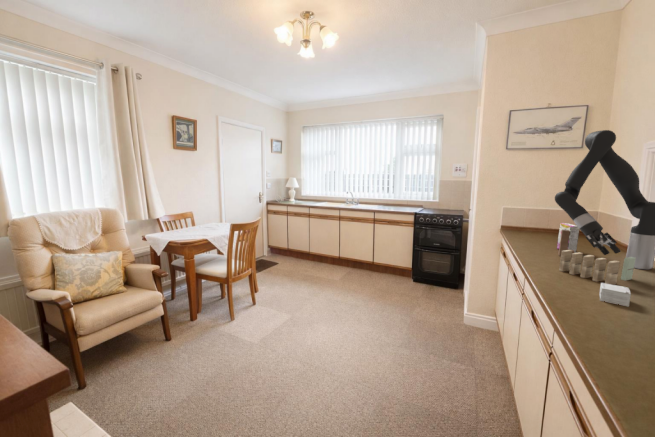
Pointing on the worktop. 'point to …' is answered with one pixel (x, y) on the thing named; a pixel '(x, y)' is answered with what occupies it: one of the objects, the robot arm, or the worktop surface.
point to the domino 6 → (628, 268)
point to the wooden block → (564, 241)
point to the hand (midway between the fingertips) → (612, 253)
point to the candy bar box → (572, 236)
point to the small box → (615, 294)
